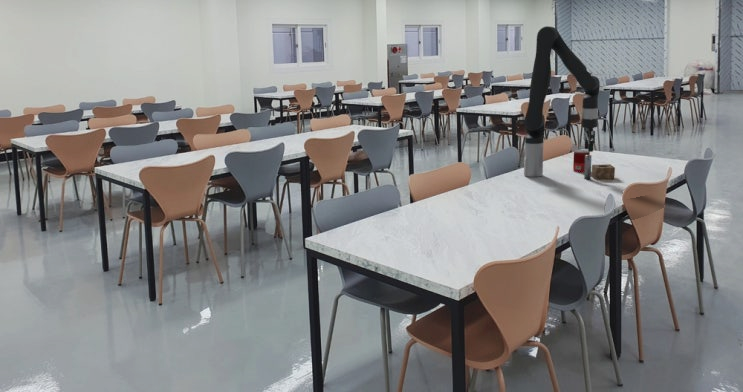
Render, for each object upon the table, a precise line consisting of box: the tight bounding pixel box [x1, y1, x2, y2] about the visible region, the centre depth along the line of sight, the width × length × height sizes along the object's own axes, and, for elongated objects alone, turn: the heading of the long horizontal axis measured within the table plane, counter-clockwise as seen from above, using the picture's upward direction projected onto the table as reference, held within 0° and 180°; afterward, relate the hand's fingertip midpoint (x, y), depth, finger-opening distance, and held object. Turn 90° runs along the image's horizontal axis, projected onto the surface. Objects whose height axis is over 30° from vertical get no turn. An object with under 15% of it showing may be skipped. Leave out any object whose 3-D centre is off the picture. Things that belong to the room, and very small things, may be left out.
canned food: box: [572, 149, 591, 173], centre depth 343 cm, size 8×8×11 cm
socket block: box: [591, 163, 616, 181], centre depth 325 cm, size 9×9×6 cm
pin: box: [583, 154, 593, 181], centre depth 323 cm, size 3×3×12 cm
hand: (588, 150), depth 321 cm, fingers open, 8 cm apart
